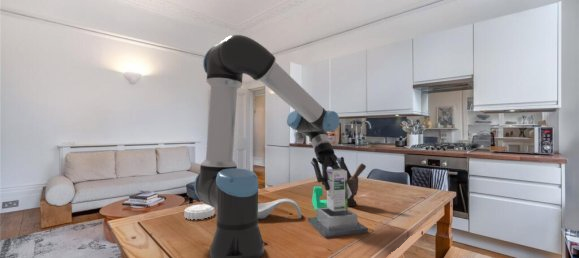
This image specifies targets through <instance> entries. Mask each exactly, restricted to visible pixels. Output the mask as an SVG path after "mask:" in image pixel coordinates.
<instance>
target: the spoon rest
mask: <svg viewBox="0 0 579 258" xmlns="http://www.w3.org/2000/svg"><path fill="white" fill-rule="evenodd" d="M283 204H290V205H292V206H293V207H294V208H295V210H296V212H297V217H298V218H299V219H301V218H302V211H301V207H300V205H299V204H298V203H297V202H296V201H294V200H292V199H289V198H281V199H276V200H273V201H269V202H263V203H262V202H261V203H258V220H261V219H266V218H267V217H268V216H269V215H270V214H272V212H273V211H274V210H276V208H277V207H278V206H279V207H280V205H283Z"/></svg>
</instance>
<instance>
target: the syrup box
mask: <svg viewBox="0 0 579 258" xmlns="http://www.w3.org/2000/svg"><path fill="white" fill-rule="evenodd" d="M326 171H327V181H328V180H330V182H331V184H332V187H333V190H334V193H335V197H334V199H333V200H331V198H330V195H329V192H328V190H327V191H326V200H327V207H328V208H329V209H330V210H332V211H333V212H335V211H344V210H349V209H348V207H349V206H348V204H347V171H346V170H344V169H332V168H331V169H330V168H329V169H328V168H327V170H326Z"/></svg>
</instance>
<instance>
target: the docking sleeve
mask: <svg viewBox="0 0 579 258" xmlns="http://www.w3.org/2000/svg"><path fill="white" fill-rule="evenodd" d="M358 216H359V215H358V214H356V213H355V212H353V211H351V210H350V209H348V210H344V211H335V212H333V211H332V210H330V209H329V208H317V211H316V216H309V217H307V219H308V220H307V222H308V223H309V224H310V225H311V226H312V227H313V228H314V229H315V230H316V231H317V232H318V233H319V234H320V235H321V236H322V237H323V238H325V239H327V238H333V237H334V238H335V237H336V238H337V237H342V236H350V235H351V236H352V235H359V234H366V233H368V232H369V228H368V227H367V226H365V225H364V224H362V223H360V222H359V221H358V220H359V219H358Z"/></svg>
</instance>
